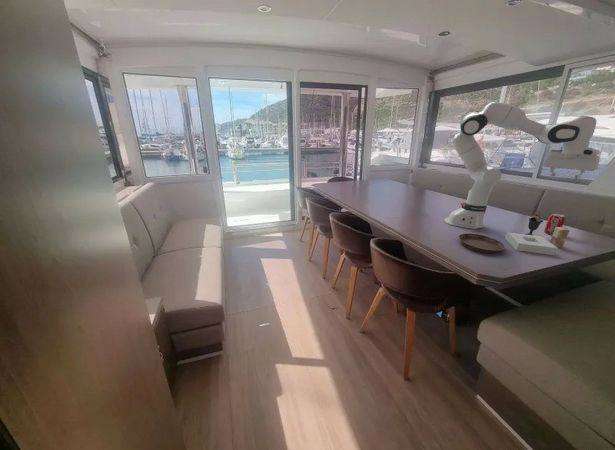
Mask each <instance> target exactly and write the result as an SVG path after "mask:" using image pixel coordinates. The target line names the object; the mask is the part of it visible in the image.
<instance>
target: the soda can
mask: <svg viewBox="0 0 615 450" xmlns="http://www.w3.org/2000/svg"><path fill="white" fill-rule="evenodd" d="M565 217H566V216H565V215H564V214H561V213H551V215H549V216H548V219H547V220H546V223H545V226H544V229H543V232H544V233H545V234H547V235H553V233H554V230H555V228H556V227H562V228H563V225H564V223H565V221H566V218H565Z"/></svg>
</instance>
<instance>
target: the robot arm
mask: <svg viewBox="0 0 615 450" xmlns="http://www.w3.org/2000/svg"><path fill="white" fill-rule="evenodd" d="M459 125H460V128H459V129H460V131H459V132H457V133H456V134H455V135H454V136H453V138H452V139H451V140H452V146H453V147H454V149H455V151H456V153H457V155H458V156H459V158H460V159H461V160H462V162H463V164H464V165H465V168H466V170H467V172H468V176H469V177H470V178H471V179H472V180H473V181H474V183H473V185H472V187H471V188H470V189H469V190H468V192H467V193H468V194H467V198H466V202H463V201H461V202H460V203H459V204H460V206H461V207H460V208H458V209H457V208H456V210H453V211H451V213H449V216H448V217H445V218H444V223H446V224H447V225H450V226H453V227H454V226H455V227H460V228H461V227H462V228H466V229H467V228H468V229H472V230H477V229H480V228H484V218H485V213H486V211H487V208H488V206H487V203H488V200H489V197H490V194H491V192H492V190H493V189H494V187H495V185H496V184H497V183H499V182H500V180H501V179H502V172H501V170H500V169H499V168H498V167H495V166H492V165H490V164H489V163H488V162H487V161H486V158H485V152H484V151H483V149H482V147H481V146H480V145H479V143H478V141H477V140H476V139H475V135H476V134H478V133H479V132H481V131H482V130H483V129H484V128H485V127H486V126H487V125H493V126H496V127H499V128H502V129H506V130H515V131H516V130H517V131H520V132H523V133H526V134H530V135H531V136H533V137H535V139H537V141H539V142H540V143H542V144H548V145H549V144H556V145H557V144H561V143H564V144H563V147H562V149H551V150H548V151H547V152H546V153H545V159H544V161H543V164H542V167H544V168H549V171H550V173H551V174H550V177H556V174H557V172H555V171H554V170H556V169H565V170H576V171H579V173H578V174H576V175H574V178H573V179H575V180H579V179H580V178H581V176H582V175H583V174H584V173H586V171H587V172H593V171H595V170H597V169H598V167H599V165H600V157H599V155H600V154H601V150H599V149H596V148H595V149H594V148H592V147H590V141H591V139H592V137H593V136H594V133H595V130H596V125H597V119H596V118H595V117H593V116H587V115H585V116H584V115H578V116H576V117H574V118H572V119H569V120H567V121H564V122H561V123H557V124H556V123H550V124H548V123H547V124H543V123H540V122H539V121H538V122H537V121H535V120H531V119H530V118H528V117H527V115H526V112H525V110H523V109H521V108H520V107H518V106H515V105H512V104H510V103H509V104H508V103H505V102H499V101H498V102H497V101H493V102H489V103H488V104H486V105H485V107H484V108H483V109H482V110H481V111H478V110H470V111H468V112H466V113H465V114H463V116H462V118H461V119H460V124H459Z"/></svg>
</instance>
